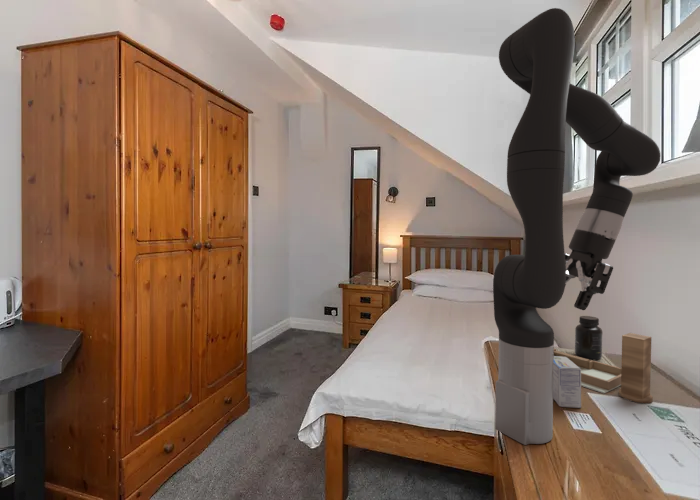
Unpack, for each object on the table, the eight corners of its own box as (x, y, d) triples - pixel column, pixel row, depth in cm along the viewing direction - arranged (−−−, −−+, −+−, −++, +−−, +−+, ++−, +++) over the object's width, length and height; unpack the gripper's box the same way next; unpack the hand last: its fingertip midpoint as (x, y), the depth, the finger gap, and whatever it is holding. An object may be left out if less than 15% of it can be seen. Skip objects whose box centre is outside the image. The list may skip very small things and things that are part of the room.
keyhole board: (604, 393, 81) (604, 379, 81) (526, 367, 97) (526, 355, 97) (634, 378, 89) (635, 365, 89) (558, 357, 105) (558, 345, 105)
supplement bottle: (569, 354, 108) (569, 315, 107) (585, 351, 110) (586, 314, 110) (590, 361, 101) (591, 320, 101) (607, 359, 103) (608, 319, 103)
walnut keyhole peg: (646, 405, 75) (647, 341, 75) (613, 395, 80) (614, 335, 80) (657, 399, 78) (658, 337, 78) (625, 389, 83) (626, 331, 83)
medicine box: (581, 409, 74) (582, 368, 74) (558, 407, 75) (559, 367, 75) (566, 392, 82) (567, 356, 81) (545, 391, 83) (546, 355, 82)
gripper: (559, 225, 82) (533, 289, 84) (604, 231, 68) (571, 308, 70) (588, 235, 82) (561, 298, 85) (639, 242, 68) (605, 318, 70)
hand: (566, 302), depth 77 cm, fingers open, 8 cm apart
